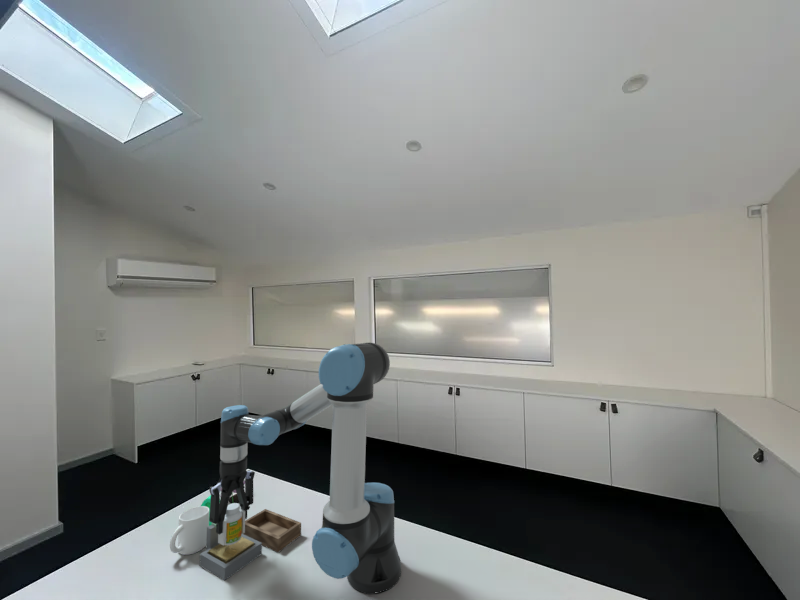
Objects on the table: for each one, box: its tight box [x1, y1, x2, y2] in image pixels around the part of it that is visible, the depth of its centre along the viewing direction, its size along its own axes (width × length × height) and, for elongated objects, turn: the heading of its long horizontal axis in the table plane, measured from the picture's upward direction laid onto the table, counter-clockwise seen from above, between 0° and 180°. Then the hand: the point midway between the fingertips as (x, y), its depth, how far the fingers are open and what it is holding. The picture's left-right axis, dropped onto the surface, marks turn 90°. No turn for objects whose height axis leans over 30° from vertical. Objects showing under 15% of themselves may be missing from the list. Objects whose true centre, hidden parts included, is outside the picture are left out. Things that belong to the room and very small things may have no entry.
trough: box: [243, 508, 302, 553], centre depth 110 cm, size 18×10×4 cm, turn 61°
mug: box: [169, 505, 209, 556], centre depth 103 cm, size 12×8×10 cm
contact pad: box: [209, 537, 254, 564], centre depth 99 cm, size 9×9×2 cm
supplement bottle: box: [224, 502, 242, 545], centre depth 99 cm, size 5×5×10 cm
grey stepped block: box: [199, 523, 263, 581], centre depth 99 cm, size 14×12×9 cm
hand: (231, 537), depth 99 cm, fingers closed on supplement bottle, 5 cm apart
